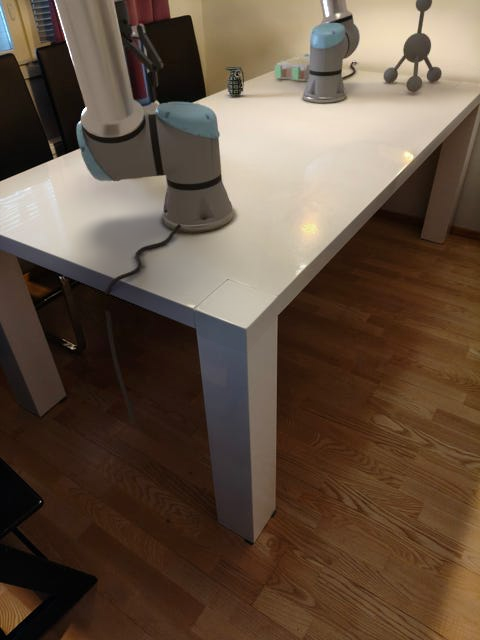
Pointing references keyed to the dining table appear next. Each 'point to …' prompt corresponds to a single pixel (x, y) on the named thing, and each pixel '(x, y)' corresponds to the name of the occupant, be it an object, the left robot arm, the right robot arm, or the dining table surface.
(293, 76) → the plastic storage case
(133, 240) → the dining table surface
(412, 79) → the molecular model
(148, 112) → the electronic device
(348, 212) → the dining table surface
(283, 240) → the dining table surface
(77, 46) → the left robot arm
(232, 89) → the grenade
